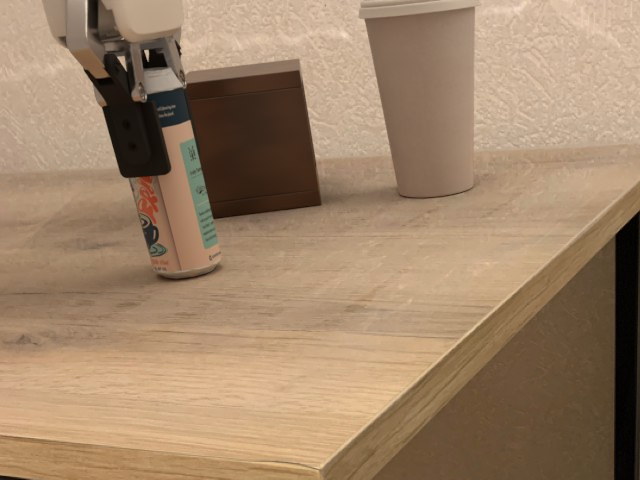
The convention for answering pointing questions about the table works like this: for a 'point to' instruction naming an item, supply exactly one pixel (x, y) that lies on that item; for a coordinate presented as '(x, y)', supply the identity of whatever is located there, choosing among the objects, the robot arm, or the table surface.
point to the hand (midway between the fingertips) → (162, 163)
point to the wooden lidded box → (254, 137)
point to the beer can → (176, 190)
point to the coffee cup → (426, 90)
